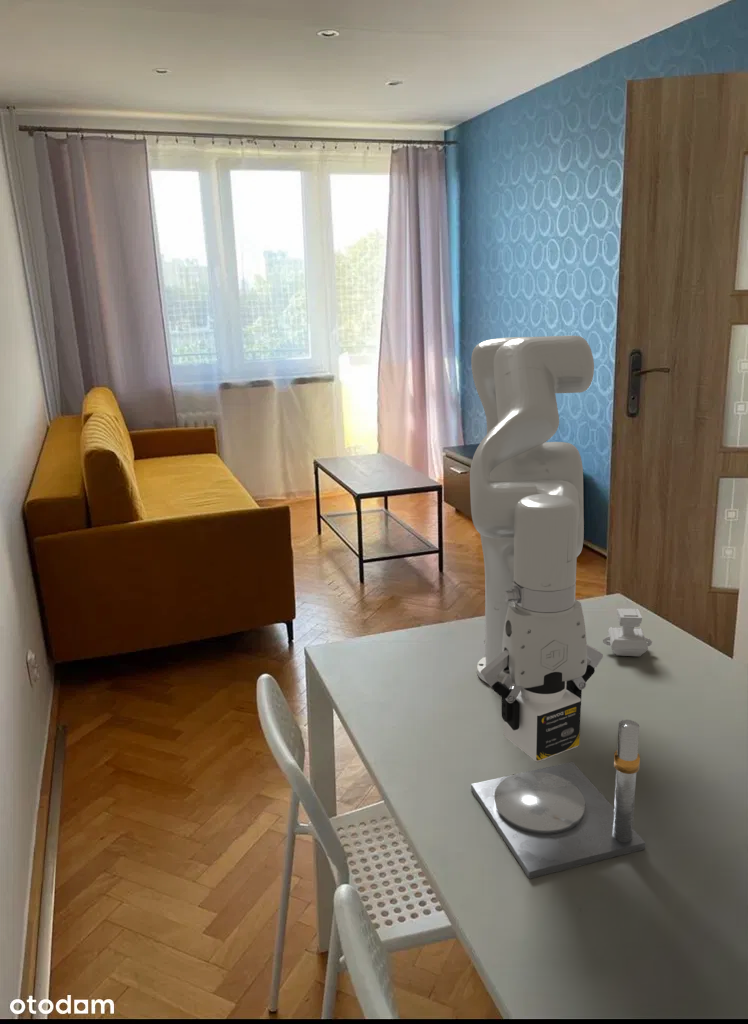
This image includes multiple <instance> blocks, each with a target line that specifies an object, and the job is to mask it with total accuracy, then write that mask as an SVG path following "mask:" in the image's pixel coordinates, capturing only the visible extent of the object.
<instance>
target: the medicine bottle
mask: <svg viewBox="0 0 748 1024" xmlns="http://www.w3.org/2000/svg"><path fill="white" fill-rule="evenodd" d="M566 682H567V681H562V673H561V672H552V673H549V674H547V675H545V676H544V684H543V685H541V686H538V687H532V688H522V689H521V691H520V693H519V694H518V696H517V698H516V700H517V701H518V702H519V728H518V730H513V729H512V728H511V727H510V726H509V724H508V723H507V722H505V721H504V720H503V736H504V738H506V739H507V740H509V741H510V743H511V744H513V745H514V746H516V747H517V748H519V750H521V751H522V752H524V753H525V755H527V756H529V758H531V759H532V760H533V761H534V762H536V763H538V762H542V761H544V760H547V759H550V758H552V757H555V756H557V755H559V754H563V753H565V752H568V751H570V750H572V749H575V748H578V747H579V746H580V737H581V736H580V735H581V733H580V732H581V709H582V708H581V707H582V698H581V699H580V698H579V697H578V696H576V695H574V694H573V693H571V692H570V691H568V690H567V689H566Z"/></svg>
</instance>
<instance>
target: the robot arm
mask: <svg viewBox="0 0 748 1024" xmlns="http://www.w3.org/2000/svg"><path fill="white" fill-rule="evenodd" d="M470 363H471V372H472V373H471V374H472V378H473V383H474V386H475V389H476V392H477V395H478V397H479V400H480V402H481V404H482V407H483V410H484V414H485V419H486V420H485V421H486V435H485V436H484V437H483V439H481V441H480V443H479V444H478V446H477V448H476V450H475V452H474V453H473V457H472V460H471V465H470V469H469V470H470V471H469V492H470V494H469V495H470V497H469V498H470V513H471V514H470V515H471V519H472V524H473V526H474V528H475V530H476V531H477V532H478V533H479V535H480V542H481V549H482V554H483V564H484V580H485V581H484V587H485V588H484V591H485V593H484V599H485V601H484V602H485V603H484V607H485V609H484V617H485V619H484V622H485V624H484V627H485V628H484V633H485V634H484V640H483V644H484V646H485V647H484V648H485V649H484V655H485V656H483V657H482V658H481V659H480V660H478V661H477V664H476V673H477V677H479V678H480V680H482V681H483V682H485V683H486V684H487V685H489V686H490V688H491V689H492V690H493V691H494V692H495V693H496V694H498V695H499V696H500V697H501V717H502V719H503V722H504V721H505V722H507V723H508V724H509V726H510V727H511V728H512V729H513V730H518V728H519V702H518V701H517V700H516V698H517V696H518V694H519V693H520V691H521V689H522V688H532V687H538V686H541V685H543V684H544V676H545V675H547V674H549V673H552V672H561V673H562V681H567V682H566V689H567V690H568V691H570V692H571V693H573V694H574V695H576V696H578V697H579V698H580V699H581V700H582V690H585V688H586V687H587V681H588V680H589V679H590V678H591V677H592V676H593V675H594V674H595V669H596V668H597V667H598V665H599V664H600V662H601V660H602V659H603V657H604V655H603V653H602V652H601V651H599V650H598V649H596V648H595V647H593V646H592V645H589V644H587V631H586V622H585V617H584V612H583V606H582V602H580V601H579V600H577V599H576V589H577V587H576V585H577V584H576V583H577V563H578V562H577V559H578V557H579V556H580V554H581V553H582V550H583V546H584V536H585V535H584V534H585V529H584V528H585V526H584V525H585V518H584V511H585V510H584V468H583V467H584V466H583V461H582V457H581V454H580V451H579V450H578V448H577V447H576V446H575V445H574V444H572V443H570V442H564V441H549V440H550V439H551V438H552V437H553V436H554V435H555V434H556V433H557V431H558V428H559V425H560V414H559V409H558V402H557V396H556V395H557V394H573V393H574V394H579V393H584V392H585V391H587V390H588V389H589V388H590V386H591V384H592V382H593V378H594V373H595V361H594V356H593V351H592V349H591V346H590V344H589V343H588V341H587V340H586V339H585V338H584V337H583V336H580V335H549V336H548V335H547V336H514V337H513V336H512V337H498V338H491V339H487V340H483V341H482V342H480V343H478V344H476V345H475V346H474V348H473V350H472V353H471V358H470Z"/></svg>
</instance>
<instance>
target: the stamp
mask: <svg viewBox="0 0 748 1024" xmlns="http://www.w3.org/2000/svg"><path fill="white" fill-rule="evenodd" d="M616 616H617V620H618V624H619V626H620V627H619V626H610V627H609V628H608V630H607V636H605V637H604V638H603V639H602V643H603V644H604V645H606V646H610V648H611V650H612V652H613V653H614V654H615V655H616V656H623V657H625V656H626V657H627V656H628V657H641V656H642V655H643V654H644V653H646V652H647V651H648V650H649V647H650V646H651V645H652V644H653V641H652V639H651V638H648V637H646V636H645V634H644V631H643V628H642V627H640V626H641V624H642V621H643V616H642V614H641V612H640V610H639V608H616Z"/></svg>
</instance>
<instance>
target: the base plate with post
mask: <svg viewBox="0 0 748 1024" xmlns="http://www.w3.org/2000/svg"><path fill="white" fill-rule="evenodd" d="M639 737H640V724H639V723H638V722H636V721H634V720H631V719H622V720H620V721H619V722H618V730H617V745H616V746H617V749H616V750H614V756H613V767H614V768H615V783H614V784H615V785H614V798H613V799H614V802H613V805H612V804H611V803H610V802H609V800H608V799H606V797H605V796H604V795H603V794H602V793H601V792H600V790H599V789H598V788H597V787H596V786H595V785H594V784H593V783H592V782H591V781H590V780H589V779H588V777H587V776H586V775H585V774H584V773H583V772H582V771H581V769H580V768H579V767H578V766H577V765H576V764H575V763H574V762H573V761H571V762H570V761H569V762H565V763H561V764H555V765H551V766H546V767H542V768H538V769H533V770H528V771H525V772H519V773H515V774H510V775H506V776H502V777H500V776H499V777H497V778H491V779H488V780H487V779H486V780H483V781H478V782H474V783H470V787H471V789H470V791H471V792H472V793H473V794H474V797H475V798H476V799H477V801H478V802H479V804H480V806H481V807H482V809H483V810H484V811H485V813H486V815H487V816H488V818H489V819H490V821H491V822H492V824H493V826H494V828H495V829H496V830H497V832H498V833H499V835H500V836H501V838H502V839H503V842H504V843H505V844H506V846H507V847H508V848H509V850H510V852H511V853H512V855H513V857H514V858H515V859H516V861H517V862H518V864H519V866H520V867H521V868H522V870H523V872H524V873H525V875H526V876H527V878H528V879H533V878H537V877H541V876H545V875H549V874H552V873H556V872H560V871H565V870H568V869H573V868H576V867H579V866H584V865H588V864H592V863H595V862H600V861H603V860H608V859H612V858H615V857H619V856H623V855H627V854H631V853H635V852H639V851H642V850H643V851H644V850H646V841H645V840H644V839H643V838H642V836H640V835H639V834H638V833H637V832H636V830H635V829H634V815H635V814H634V813H635V798H636V783H637V773H638V772H639V771H640V763H641V756H640V755H641V754H639V739H640V738H639Z"/></svg>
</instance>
